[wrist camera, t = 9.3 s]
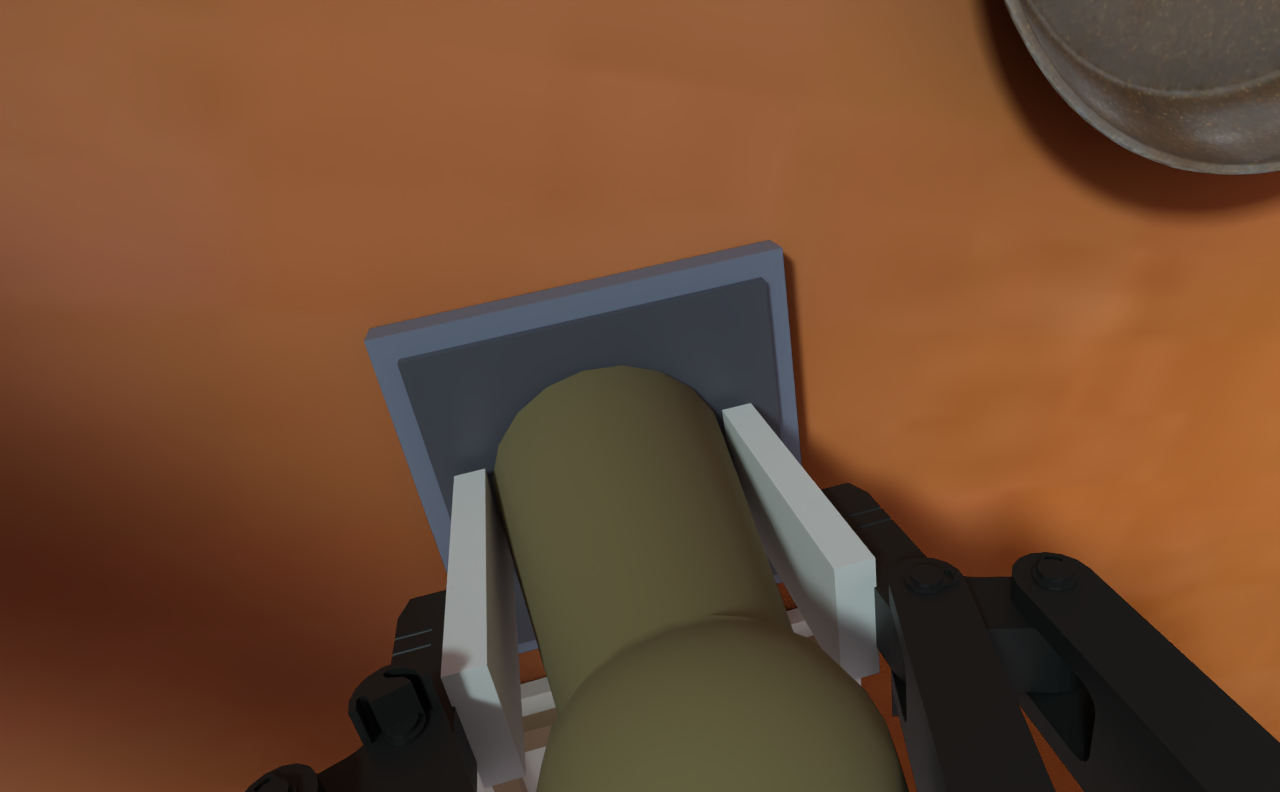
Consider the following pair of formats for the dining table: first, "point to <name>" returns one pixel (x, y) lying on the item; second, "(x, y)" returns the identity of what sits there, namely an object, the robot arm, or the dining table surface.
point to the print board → (543, 714)
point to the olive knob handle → (667, 606)
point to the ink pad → (583, 362)
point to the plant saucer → (1166, 75)
